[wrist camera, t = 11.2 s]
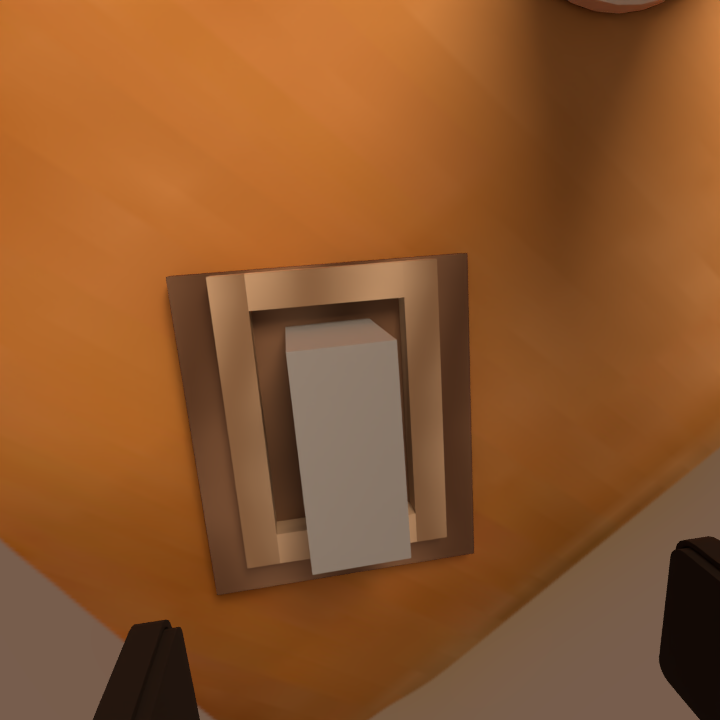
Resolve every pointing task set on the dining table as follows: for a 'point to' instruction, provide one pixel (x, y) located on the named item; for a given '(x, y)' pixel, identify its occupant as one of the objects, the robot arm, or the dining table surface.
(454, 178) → the dining table surface
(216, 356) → the jig
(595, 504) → the dining table surface
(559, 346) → the dining table surface
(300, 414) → the grey rectangular block
